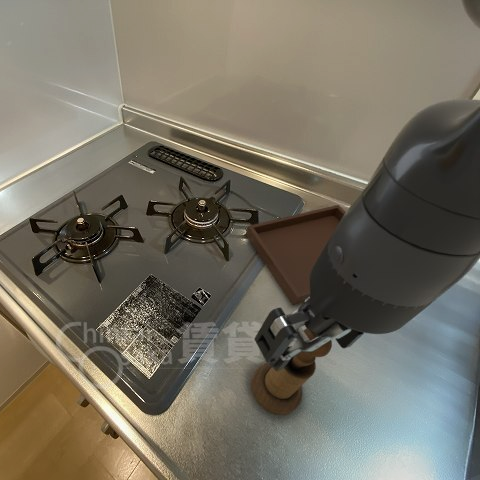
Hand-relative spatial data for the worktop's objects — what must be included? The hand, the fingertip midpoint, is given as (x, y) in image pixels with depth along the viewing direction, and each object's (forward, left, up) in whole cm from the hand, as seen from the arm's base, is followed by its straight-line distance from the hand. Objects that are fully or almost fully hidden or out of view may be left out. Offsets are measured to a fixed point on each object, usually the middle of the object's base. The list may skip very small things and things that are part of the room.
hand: (307, 350), depth 34 cm
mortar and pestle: (0, 0, -14) cm, 14 cm away
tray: (-21, -20, -14) cm, 32 cm away
